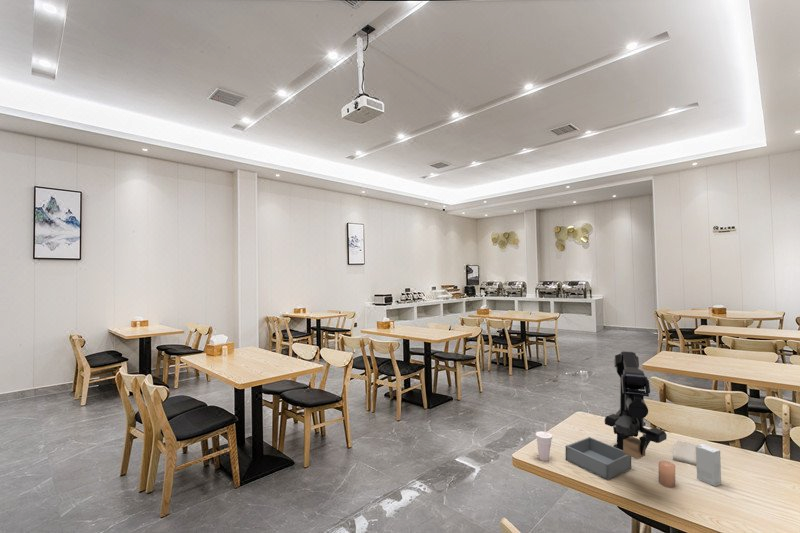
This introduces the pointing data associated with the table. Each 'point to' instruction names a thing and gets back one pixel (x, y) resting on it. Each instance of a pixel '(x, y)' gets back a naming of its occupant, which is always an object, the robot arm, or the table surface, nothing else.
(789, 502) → the table surface
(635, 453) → the cube
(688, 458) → the washcloth
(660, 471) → the cylinder
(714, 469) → the skincare box
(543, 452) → the smoothie
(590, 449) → the tote
